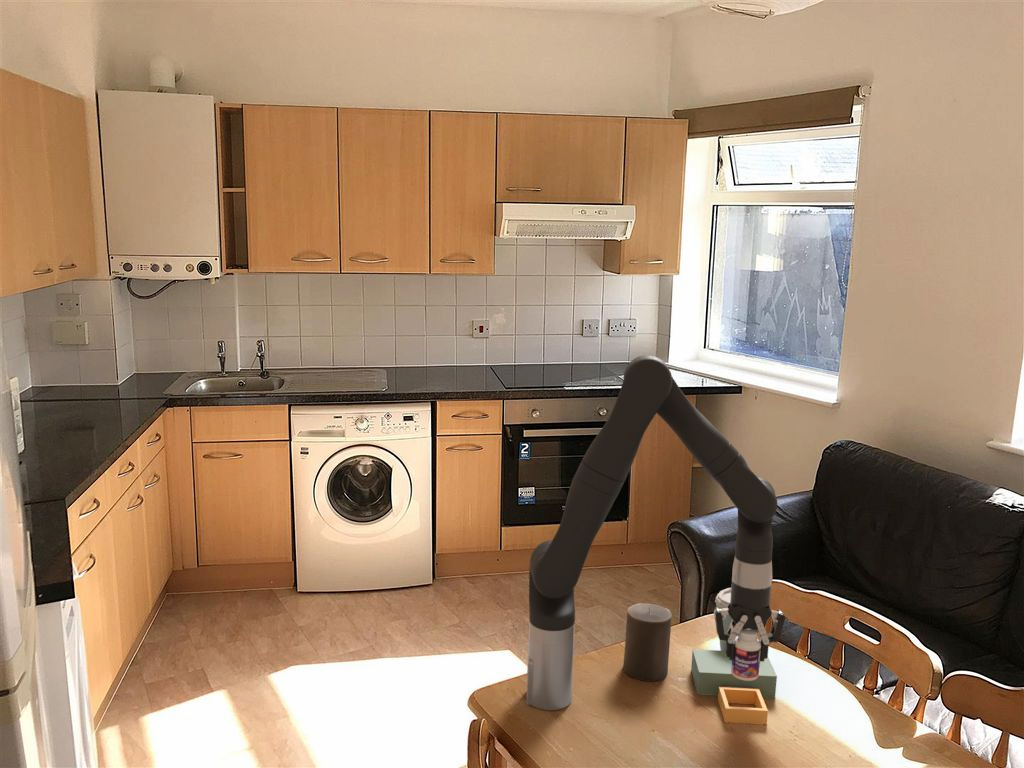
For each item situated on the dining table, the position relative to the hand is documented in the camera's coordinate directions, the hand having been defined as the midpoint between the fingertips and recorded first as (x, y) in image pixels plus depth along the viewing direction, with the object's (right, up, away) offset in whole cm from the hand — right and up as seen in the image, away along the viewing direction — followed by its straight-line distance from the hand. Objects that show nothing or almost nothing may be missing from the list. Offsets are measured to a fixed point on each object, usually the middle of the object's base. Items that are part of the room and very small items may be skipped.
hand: (745, 658), depth 177 cm
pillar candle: (-17, -8, +18) cm, 26 cm away
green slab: (0, -11, +7) cm, 13 cm away
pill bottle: (0, -4, +1) cm, 4 cm away
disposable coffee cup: (+4, -7, +26) cm, 27 cm away
